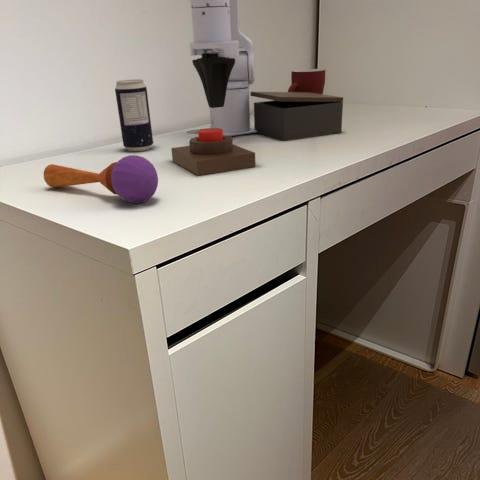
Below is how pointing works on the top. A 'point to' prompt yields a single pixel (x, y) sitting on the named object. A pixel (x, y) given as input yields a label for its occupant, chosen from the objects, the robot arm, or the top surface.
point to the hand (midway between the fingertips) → (216, 107)
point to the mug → (308, 81)
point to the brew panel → (212, 156)
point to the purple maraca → (111, 178)
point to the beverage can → (134, 114)
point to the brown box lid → (297, 97)
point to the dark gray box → (297, 119)
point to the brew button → (210, 134)
